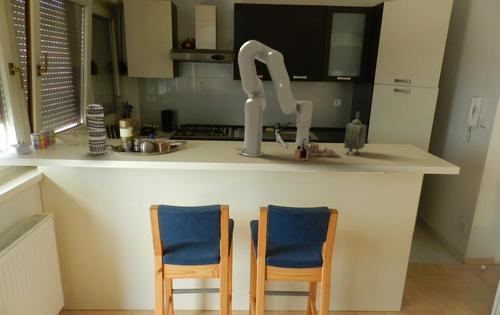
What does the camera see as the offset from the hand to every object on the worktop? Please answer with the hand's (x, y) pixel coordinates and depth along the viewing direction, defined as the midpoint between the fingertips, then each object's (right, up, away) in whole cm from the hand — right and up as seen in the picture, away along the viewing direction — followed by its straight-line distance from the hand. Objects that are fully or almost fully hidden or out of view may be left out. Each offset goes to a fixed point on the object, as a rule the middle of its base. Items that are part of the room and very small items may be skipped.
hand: (301, 155), depth 178 cm
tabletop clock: (+33, +1, +16) cm, 37 cm away
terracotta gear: (0, -1, 0) cm, 2 cm away
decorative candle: (-109, +2, -1) cm, 109 cm away
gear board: (+11, +1, +12) cm, 16 cm away
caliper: (-8, +7, +34) cm, 35 cm away
